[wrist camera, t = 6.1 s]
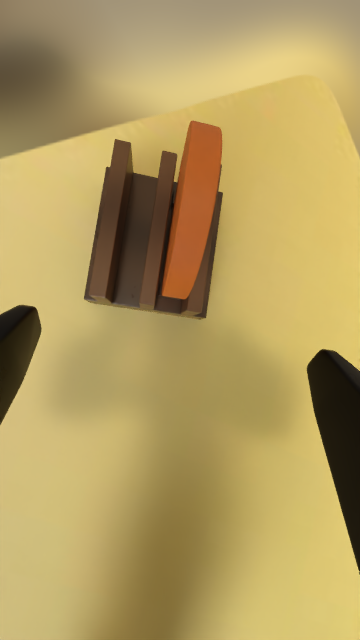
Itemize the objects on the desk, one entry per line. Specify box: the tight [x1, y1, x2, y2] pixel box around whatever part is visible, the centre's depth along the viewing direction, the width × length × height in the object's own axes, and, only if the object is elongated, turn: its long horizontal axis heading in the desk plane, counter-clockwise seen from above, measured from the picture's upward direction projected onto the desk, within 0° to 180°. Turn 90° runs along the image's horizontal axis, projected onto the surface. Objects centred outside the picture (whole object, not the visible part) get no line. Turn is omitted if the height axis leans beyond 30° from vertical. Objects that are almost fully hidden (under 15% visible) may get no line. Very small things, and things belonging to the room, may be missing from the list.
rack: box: [84, 139, 223, 319], centre depth 18 cm, size 10×9×5 cm
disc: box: [162, 121, 222, 299], centre depth 15 cm, size 9×1×9 cm, turn 172°
